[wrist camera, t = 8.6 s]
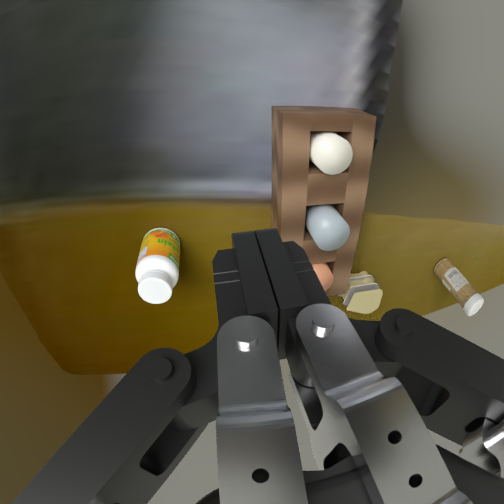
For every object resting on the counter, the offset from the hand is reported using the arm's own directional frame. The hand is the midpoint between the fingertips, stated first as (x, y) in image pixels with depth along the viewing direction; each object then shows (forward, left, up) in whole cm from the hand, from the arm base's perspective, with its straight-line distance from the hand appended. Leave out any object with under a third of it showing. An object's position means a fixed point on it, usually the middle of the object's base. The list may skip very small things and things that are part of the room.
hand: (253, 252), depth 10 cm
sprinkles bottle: (-2, +53, -26) cm, 59 cm away
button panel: (+3, +17, -26) cm, 31 cm away
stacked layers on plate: (+11, +35, -27) cm, 45 cm away
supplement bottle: (+18, +2, -26) cm, 32 cm away
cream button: (-4, +12, -25) cm, 28 cm away
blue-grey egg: (+3, +17, -23) cm, 29 cm away
